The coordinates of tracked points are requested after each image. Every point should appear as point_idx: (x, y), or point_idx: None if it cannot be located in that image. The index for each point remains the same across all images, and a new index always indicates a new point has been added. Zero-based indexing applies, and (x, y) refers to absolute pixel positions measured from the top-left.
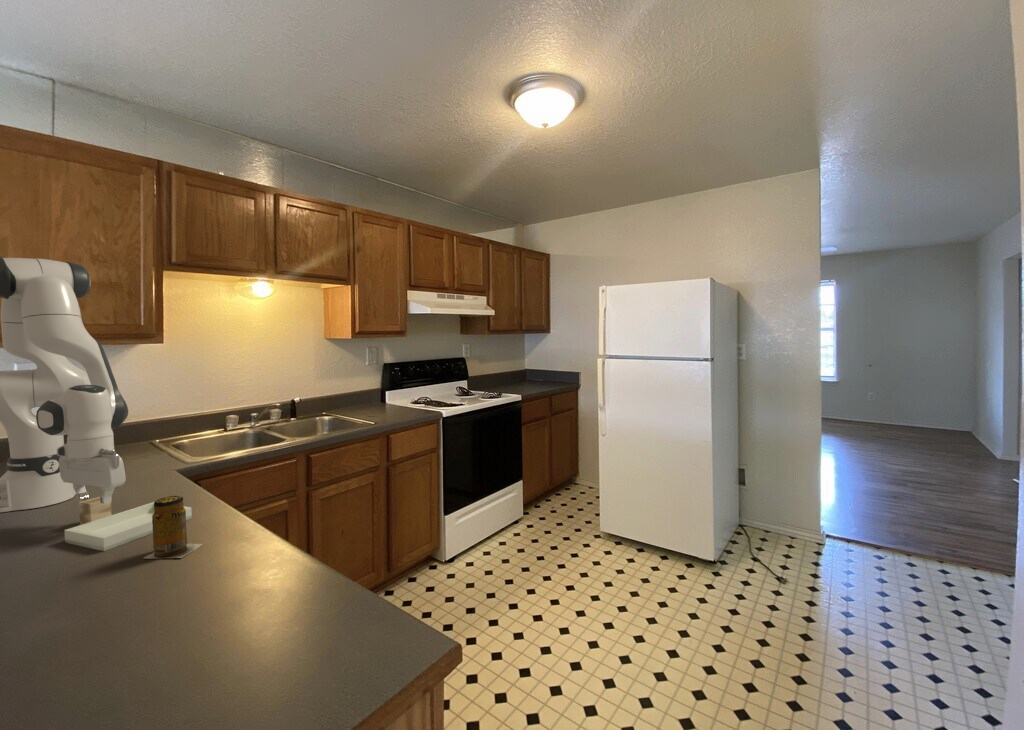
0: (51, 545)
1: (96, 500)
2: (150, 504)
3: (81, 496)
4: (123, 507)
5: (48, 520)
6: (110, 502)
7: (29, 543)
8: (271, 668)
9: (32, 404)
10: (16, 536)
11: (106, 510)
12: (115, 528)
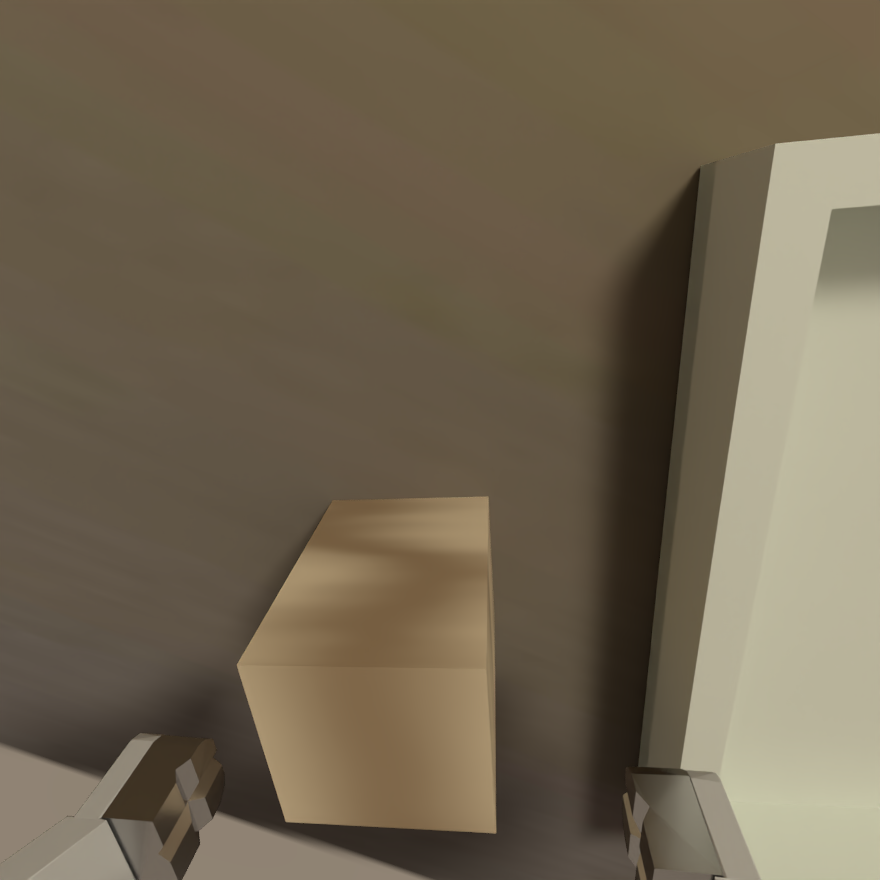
0: (596, 822)
1: (396, 751)
2: (815, 261)
3: (196, 837)
4: (143, 232)
5: (36, 635)
6: (710, 773)
7: (434, 830)
8: None
9: None
10: (234, 799)
11: (489, 604)
12: (822, 642)
